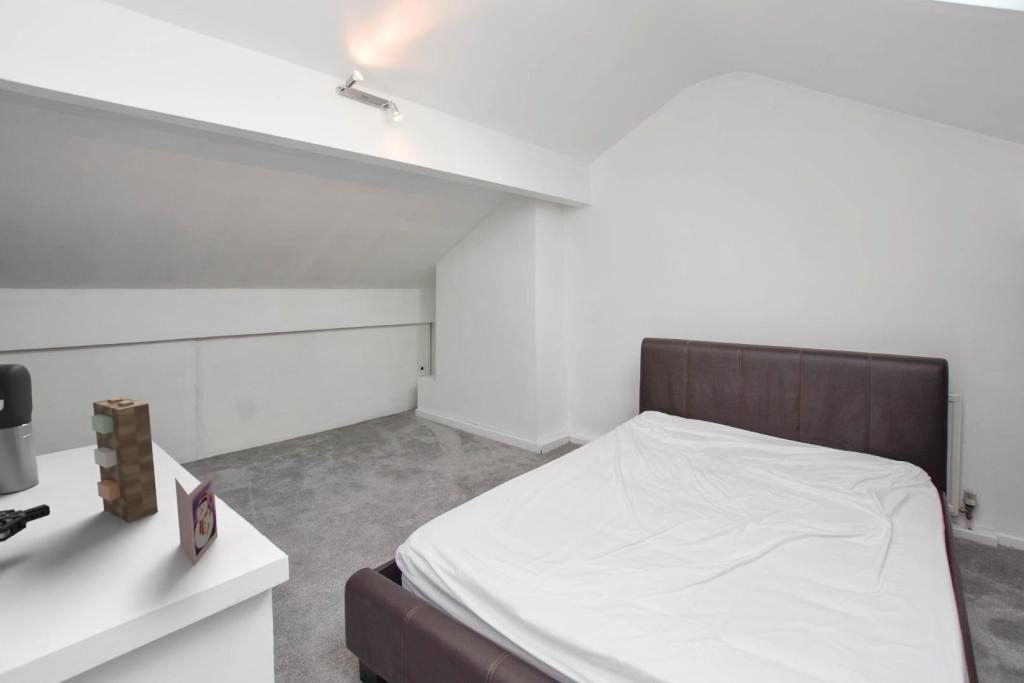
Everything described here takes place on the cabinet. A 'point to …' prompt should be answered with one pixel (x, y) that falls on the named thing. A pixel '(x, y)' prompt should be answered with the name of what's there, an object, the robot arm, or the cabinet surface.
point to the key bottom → (108, 489)
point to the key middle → (105, 457)
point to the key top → (102, 423)
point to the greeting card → (197, 518)
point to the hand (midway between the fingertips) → (48, 509)
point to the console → (129, 458)
